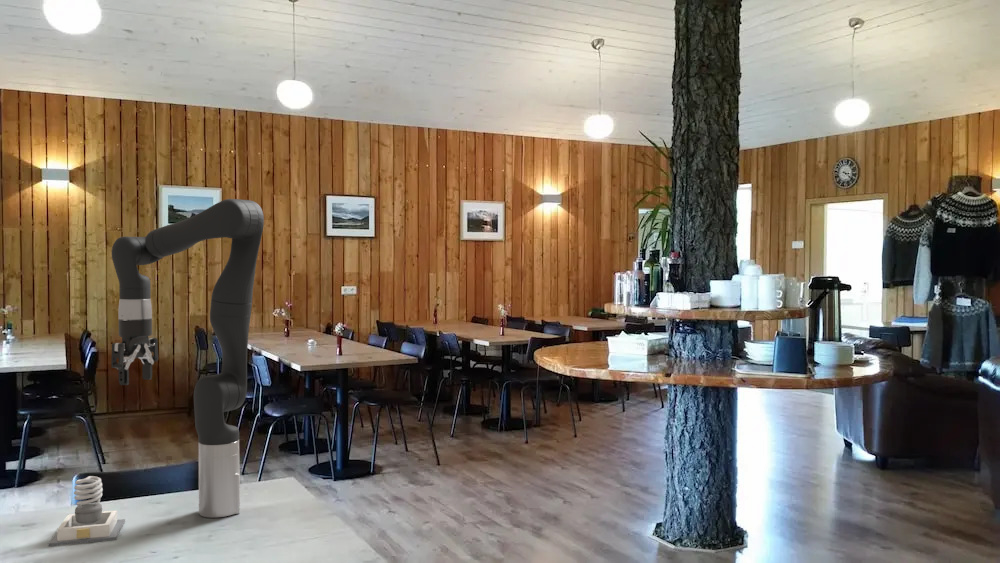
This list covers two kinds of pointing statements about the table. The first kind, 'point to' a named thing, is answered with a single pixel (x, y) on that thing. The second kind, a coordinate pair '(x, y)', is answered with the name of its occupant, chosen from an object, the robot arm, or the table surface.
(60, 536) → the cream square tray
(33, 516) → the table surface
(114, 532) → the slate board
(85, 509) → the light bulb
